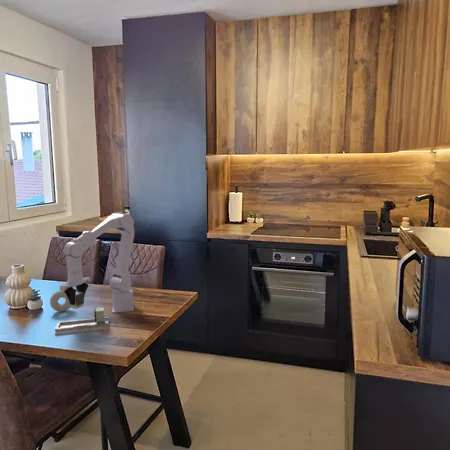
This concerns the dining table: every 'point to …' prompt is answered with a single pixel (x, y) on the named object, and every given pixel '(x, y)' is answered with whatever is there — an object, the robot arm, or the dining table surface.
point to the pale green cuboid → (78, 300)
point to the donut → (56, 305)
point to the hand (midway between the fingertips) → (76, 302)
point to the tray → (84, 324)
